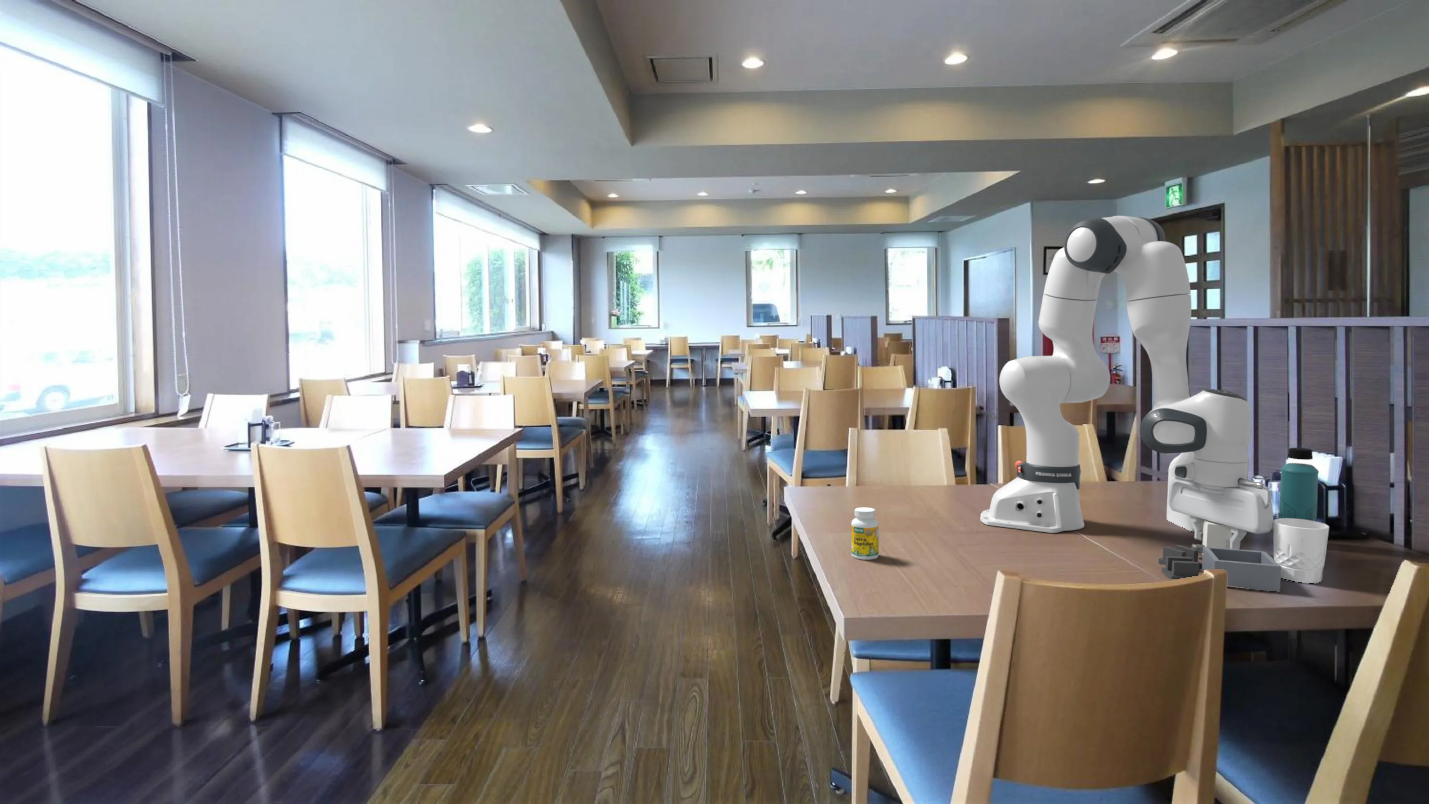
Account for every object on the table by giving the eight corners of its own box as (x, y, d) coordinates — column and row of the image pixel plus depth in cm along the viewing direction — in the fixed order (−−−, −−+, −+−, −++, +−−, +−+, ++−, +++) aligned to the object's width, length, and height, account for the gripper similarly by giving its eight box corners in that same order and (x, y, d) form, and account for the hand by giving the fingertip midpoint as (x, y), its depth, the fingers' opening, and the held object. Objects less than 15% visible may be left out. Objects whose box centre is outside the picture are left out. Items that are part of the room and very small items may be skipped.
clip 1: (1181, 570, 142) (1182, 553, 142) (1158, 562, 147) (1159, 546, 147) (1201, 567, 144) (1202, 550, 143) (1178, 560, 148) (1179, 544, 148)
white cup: (1259, 572, 141) (1262, 518, 140) (1299, 570, 141) (1302, 517, 141) (1295, 585, 133) (1298, 529, 132) (1337, 584, 134) (1341, 528, 133)
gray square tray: (1213, 585, 133) (1214, 560, 133) (1202, 570, 142) (1203, 546, 142) (1279, 592, 130) (1281, 566, 129) (1263, 575, 138) (1265, 551, 138)
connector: (1193, 558, 148) (1195, 523, 148) (1190, 552, 152) (1191, 518, 151) (1230, 561, 146) (1232, 525, 145) (1225, 556, 150) (1227, 521, 149)
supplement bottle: (879, 553, 155) (880, 507, 154) (877, 561, 150) (877, 513, 149) (852, 551, 156) (853, 505, 156) (849, 559, 151) (849, 511, 151)
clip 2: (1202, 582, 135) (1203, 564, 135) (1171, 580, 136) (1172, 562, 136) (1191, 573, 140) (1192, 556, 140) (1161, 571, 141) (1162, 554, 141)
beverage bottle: (1322, 547, 156) (1328, 450, 154) (1286, 546, 157) (1291, 450, 156) (1305, 539, 162) (1310, 446, 161) (1269, 537, 164) (1274, 445, 162)
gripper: (1285, 483, 138) (1280, 558, 139) (1189, 464, 157) (1186, 530, 159) (1256, 485, 136) (1252, 561, 138) (1164, 466, 156) (1161, 532, 157)
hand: (1216, 544), depth 148 cm, fingers closed on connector, 6 cm apart
